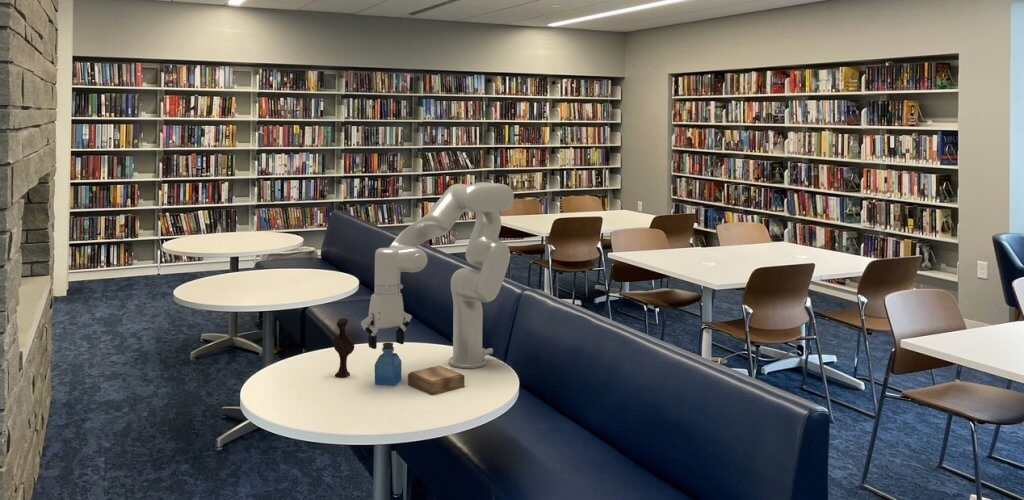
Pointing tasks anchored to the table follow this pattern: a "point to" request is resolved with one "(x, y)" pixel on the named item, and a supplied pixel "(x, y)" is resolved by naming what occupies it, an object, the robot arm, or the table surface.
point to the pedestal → (435, 380)
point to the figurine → (343, 348)
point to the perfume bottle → (388, 367)
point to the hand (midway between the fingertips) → (386, 345)
